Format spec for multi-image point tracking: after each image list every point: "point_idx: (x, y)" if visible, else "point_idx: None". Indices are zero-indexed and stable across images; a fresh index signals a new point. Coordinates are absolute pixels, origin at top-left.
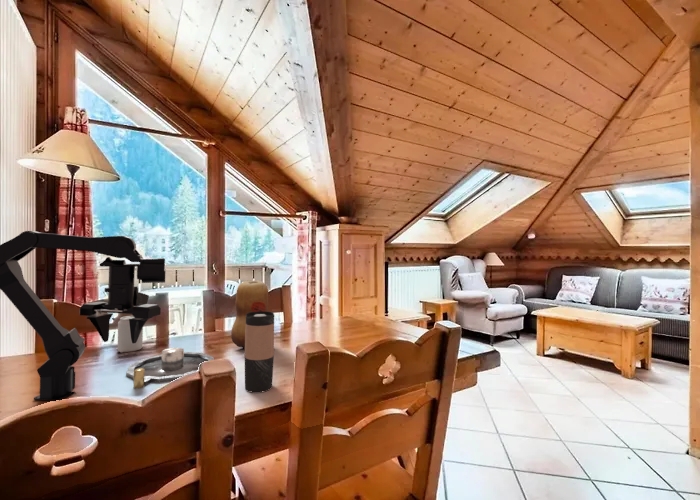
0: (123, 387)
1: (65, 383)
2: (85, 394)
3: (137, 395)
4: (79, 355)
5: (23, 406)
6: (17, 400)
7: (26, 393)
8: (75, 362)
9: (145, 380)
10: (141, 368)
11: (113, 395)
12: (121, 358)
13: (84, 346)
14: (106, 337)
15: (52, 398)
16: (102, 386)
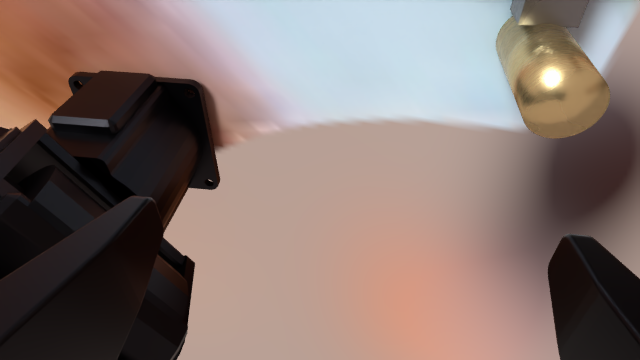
0: (403, 8)
1: (182, 189)
2: (263, 112)
3: None
4: (182, 314)
5: None
6: None
7: (3, 116)
8: (185, 281)
9: (570, 2)
10: (572, 71)
11: (414, 115)
12: None
13: (25, 223)
14: (135, 256)
15: (189, 184)
16: (260, 6)
